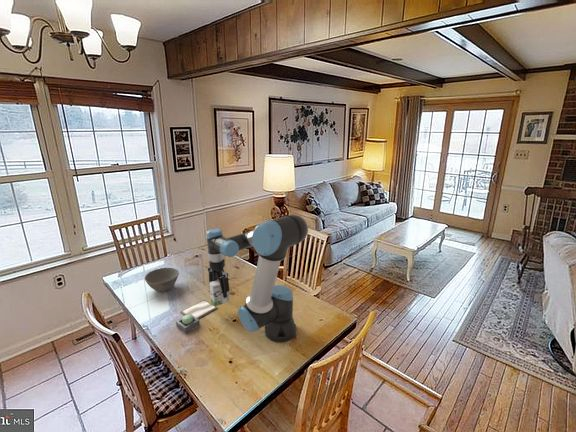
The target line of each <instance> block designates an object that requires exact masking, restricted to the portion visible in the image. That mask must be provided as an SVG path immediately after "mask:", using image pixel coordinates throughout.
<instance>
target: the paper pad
mask: <svg viewBox="0 0 576 432" xmlns="http://www.w3.org/2000/svg"><path fill="white" fill-rule="evenodd" d="M217 309H218V306H214V305H213V304H212V303H211V302H210V301H208V300H206V299H203V300H201V301H198V302H196V303H194V304H192V305H191V306H189V307H187V308H185V309H183V310H181V311H180V314H181V315H183V316H185V315H189V314H191V315H193V316H194V317H196V318H197V319H199V320H200V319H201V318H203V317H205V316H207V315H209V314H211V313H212V312H214V311H215V310H217Z"/></svg>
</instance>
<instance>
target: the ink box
mask: <svg viewBox="0 0 576 432" xmlns="http://www.w3.org/2000/svg"><path fill="white" fill-rule="evenodd" d="M208 284H209V291H210V292H209V293H210V294H209V295H210V303H211V304H213V305H214V306H216V307H218V306H220V305H223V304H222V297H221V292H222V289H221V286H220V282H219V280H216V281H212V282H210V283H209V282H208ZM229 302H230V291H228V292H227V302H226V303H229Z"/></svg>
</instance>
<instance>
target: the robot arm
mask: <svg viewBox="0 0 576 432" xmlns="http://www.w3.org/2000/svg"><path fill="white" fill-rule="evenodd" d="M308 226H309V225H308V223H307V221H306V220H305V219H304V218H303V217H302V216H300V215H298V214H288V215H285V216H281V217H278V218H274V219H271V220H269V219H268V220H265V221H263V222H261V223H258V224H257V225H256V226H255V228H254V230H249V231H245V232H242V233H240V234H236V235H233V236H230V237H225V236H223V231H222V229H220V228H211V229H209V230H207V231H206V238H205V239H206V244H207V246H206V247H207V255H208V263H209V267H208V268H207V271H208V284H209V283H210V282H212V281H216V280H219V282H220V286H221V289H222V292H221V297H222V304H221V305H223V304H226V303H228V302H227V292H228V291H229V292H230V291H231V290H230V283H229V273H228V272H227V273H226V272H225V270H224V268H225V266H226V263H225V262H226V261H225V256H226V257H228V258H233V257H236V255H237V254H238V253H239V251H242V250H245V249H249V248H252V247H253V248H254V250H255V252H256V253H257V255H258V260H257V263H256V264H257V265H256V270H255V272H254V273H255V274H254V278H253V284H252V288H251V292H250V294H248V295H247V297H246V299H245V304H244V305H241V306H240V307H239V308H238V310H237V313H238V318H239V321H240V322H241V324H242V326H243V327H244V329H245V330H247V331H248V332H250V333H251V332H252V333H254V332H255V331H258V330H260V329H261V328H263V327H264V334H265V336H266V337H267V338H268V339H269V340H271V341H273V342H278V343H283V342H288V341H290V340H292V339H293V338H294V337H295V336H296V334H297V326H296V323H295V320H294V316H293V315H294V314H293V313H294V312H293V311H294V310H293V309H294V307H293V306H294V297H293V295H294V294H293V291H292V289H291V288H290V287H288V286H286V285H281V284H276V281H277V277H278V273H279V269H280V266H281V265H280V264H281V261H283V260H284V259H286V257H287V256H288V255H287V254H288V251H289V248H291V247H293V246H296V245H298V244H300V243H302V242H304V240H305V239H306V238H307V236H308V233H309V227H308Z"/></svg>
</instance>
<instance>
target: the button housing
mask: <svg viewBox="0 0 576 432" xmlns="http://www.w3.org/2000/svg"><path fill="white" fill-rule="evenodd" d="M189 315H191V314H189ZM192 316H193V315H192ZM200 323H201V322H200V319H197V318H196V317H194V316H193V322H192V323H191V324H189V325H187V326H185V325H183V324H182V317H181V318H180V319H177V320H176V321H175V327H176V328H177V329H179V330H180V331H182V333H184V334H188V333H189V332H190V331H191V332H192V331H193V330H194V329H196V328H198V327H199V326H200V325H201V324H200Z"/></svg>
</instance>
